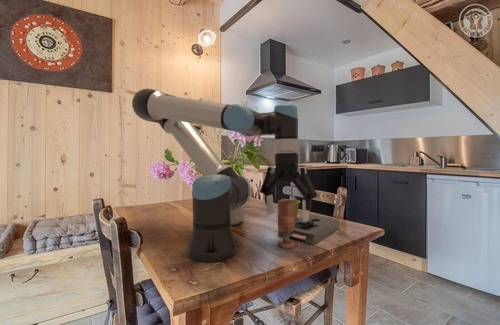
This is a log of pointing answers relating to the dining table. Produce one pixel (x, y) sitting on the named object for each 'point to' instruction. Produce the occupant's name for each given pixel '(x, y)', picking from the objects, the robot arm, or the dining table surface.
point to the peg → (286, 222)
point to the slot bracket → (320, 230)
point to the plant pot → (296, 207)
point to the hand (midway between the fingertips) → (286, 217)
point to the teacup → (237, 215)
